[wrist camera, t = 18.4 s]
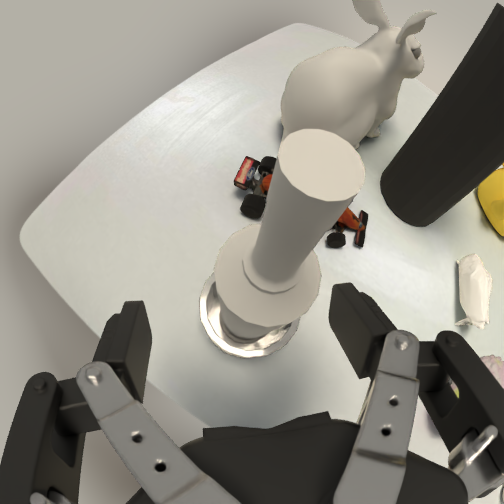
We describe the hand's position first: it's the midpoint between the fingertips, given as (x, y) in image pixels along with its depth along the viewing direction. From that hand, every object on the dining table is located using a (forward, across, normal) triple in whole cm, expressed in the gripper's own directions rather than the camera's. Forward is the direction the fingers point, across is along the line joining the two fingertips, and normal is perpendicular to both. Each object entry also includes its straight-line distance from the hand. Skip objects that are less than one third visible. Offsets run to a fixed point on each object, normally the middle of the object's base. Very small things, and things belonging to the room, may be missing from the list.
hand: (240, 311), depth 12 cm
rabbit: (+32, -18, -6) cm, 37 cm away
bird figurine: (+14, -32, +12) cm, 37 cm away
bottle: (+14, -2, +11) cm, 18 cm away
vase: (+24, -27, +2) cm, 36 cm away
